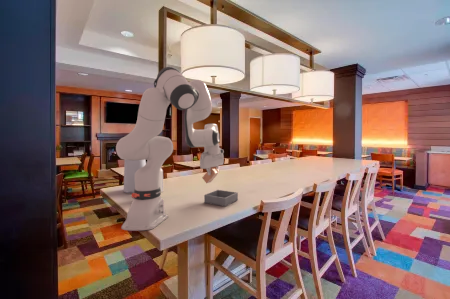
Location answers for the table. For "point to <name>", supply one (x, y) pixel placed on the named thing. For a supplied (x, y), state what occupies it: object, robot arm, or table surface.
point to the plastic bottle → (131, 174)
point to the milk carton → (161, 180)
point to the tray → (221, 197)
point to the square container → (209, 178)
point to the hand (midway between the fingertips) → (212, 174)
